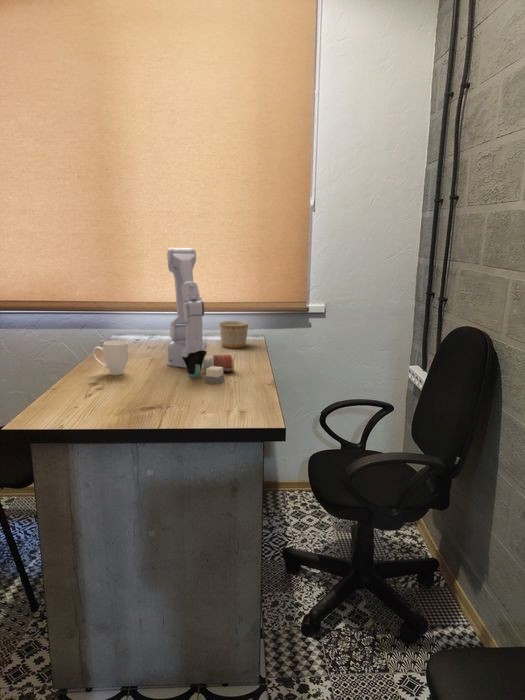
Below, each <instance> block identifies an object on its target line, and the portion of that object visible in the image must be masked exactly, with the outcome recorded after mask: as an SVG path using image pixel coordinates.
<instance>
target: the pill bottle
mask: <svg viewBox="0 0 525 700" xmlns="http://www.w3.org/2000/svg"><path fill="white" fill-rule="evenodd" d="M211 366H216V367H223V373H226V372H228V373H229V372H234V370H235V357H234V355H233V354H218V355H217V354H215V355H214V354H213V355H210V356H209V357H206V356H205V357H204V360H203V363H202V371H206V369H207V368H209V367H211Z"/></svg>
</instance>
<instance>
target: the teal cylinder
mask: <svg viewBox="0 0 525 700" xmlns="http://www.w3.org/2000/svg"><path fill="white" fill-rule="evenodd" d="M188 377H189V378H191V379H198V378H201V371H200V365H199V364H196V365H195V373H194V374H188Z"/></svg>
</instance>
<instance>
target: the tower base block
mask: <svg viewBox="0 0 525 700" xmlns="http://www.w3.org/2000/svg"><path fill="white" fill-rule="evenodd" d="M223 381H225V373H223V375H221V376H220V377H209V376H206V375H204V383H209V384H217V385H219V384H220V383H222V382H223Z"/></svg>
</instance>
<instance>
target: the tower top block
mask: <svg viewBox="0 0 525 700" xmlns="http://www.w3.org/2000/svg"><path fill="white" fill-rule="evenodd" d="M223 374H224V372H223V367H216V366H211V367H209V368H207V369H206V370H205V376H209V377H220V376H221V375H223Z"/></svg>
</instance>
